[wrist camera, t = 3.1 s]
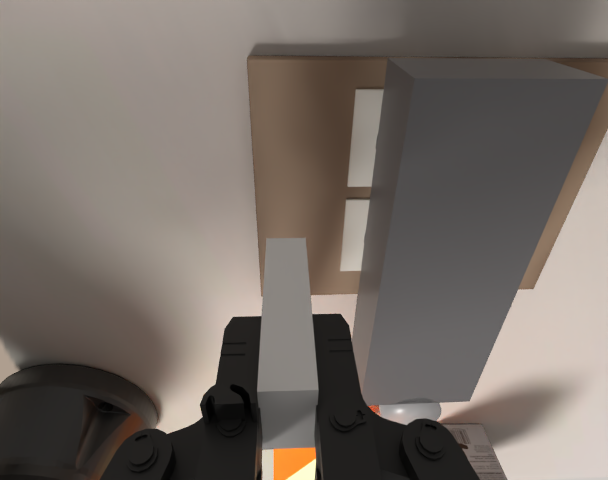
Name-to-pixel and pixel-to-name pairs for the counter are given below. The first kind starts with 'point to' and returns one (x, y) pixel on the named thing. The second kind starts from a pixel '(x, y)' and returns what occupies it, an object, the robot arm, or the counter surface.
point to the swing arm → (457, 217)
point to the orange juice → (294, 464)
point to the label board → (350, 159)
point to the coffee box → (477, 450)
